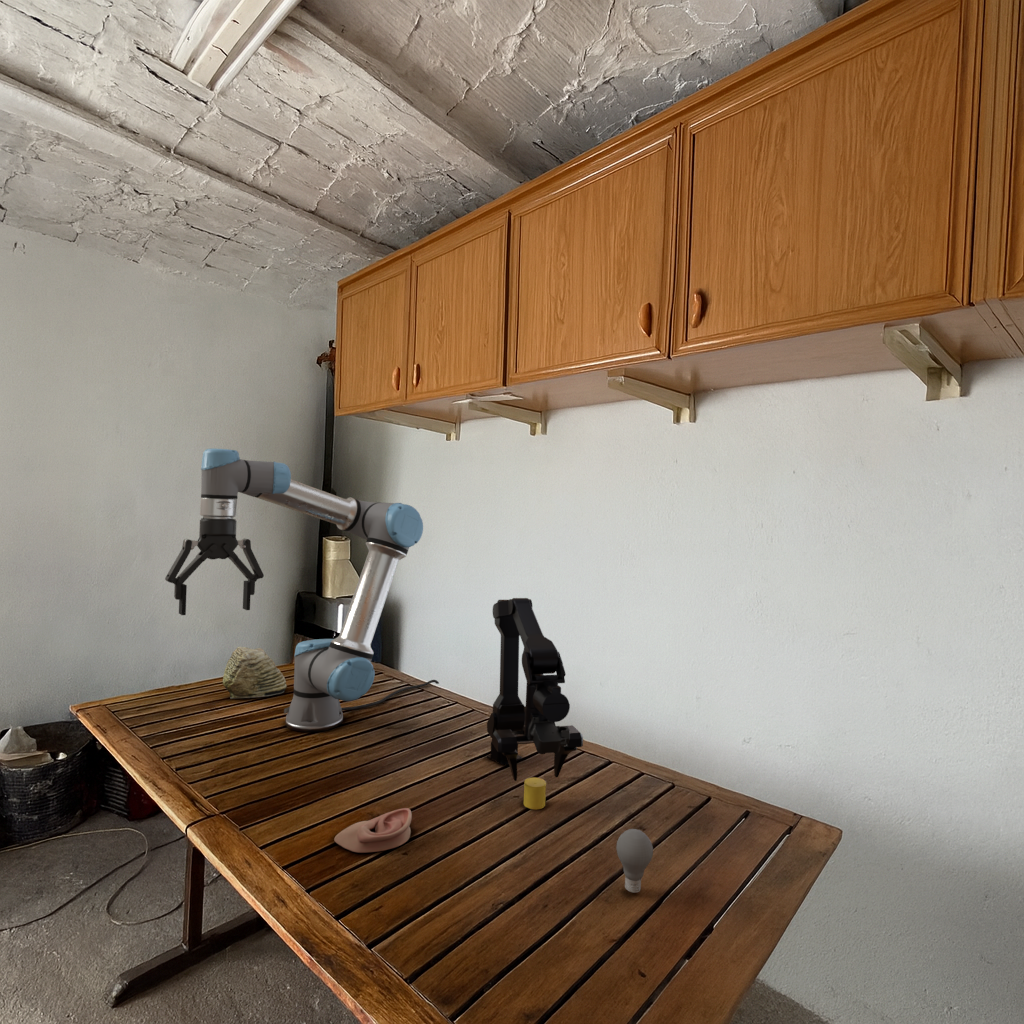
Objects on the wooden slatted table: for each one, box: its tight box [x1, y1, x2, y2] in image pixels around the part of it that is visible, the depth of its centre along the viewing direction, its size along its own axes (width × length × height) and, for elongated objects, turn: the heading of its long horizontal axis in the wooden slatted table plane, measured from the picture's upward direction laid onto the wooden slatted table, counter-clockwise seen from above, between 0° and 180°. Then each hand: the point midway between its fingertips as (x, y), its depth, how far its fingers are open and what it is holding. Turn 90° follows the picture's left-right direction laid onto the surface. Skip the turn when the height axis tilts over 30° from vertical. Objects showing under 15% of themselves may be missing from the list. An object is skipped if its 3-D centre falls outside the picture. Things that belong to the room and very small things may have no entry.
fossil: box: [222, 646, 288, 699], centre depth 198 cm, size 9×18×15 cm, turn 132°
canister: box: [523, 777, 547, 810], centre depth 135 cm, size 5×5×5 cm
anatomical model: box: [333, 807, 413, 854], centre depth 119 cm, size 13×4×12 cm
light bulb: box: [615, 828, 654, 894], centre depth 106 cm, size 6×6×10 cm
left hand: (215, 611), depth 143 cm, fingers open, 13 cm apart
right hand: (535, 778), depth 134 cm, fingers open, 9 cm apart
